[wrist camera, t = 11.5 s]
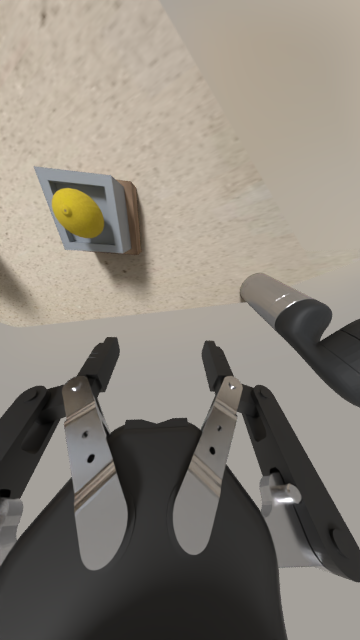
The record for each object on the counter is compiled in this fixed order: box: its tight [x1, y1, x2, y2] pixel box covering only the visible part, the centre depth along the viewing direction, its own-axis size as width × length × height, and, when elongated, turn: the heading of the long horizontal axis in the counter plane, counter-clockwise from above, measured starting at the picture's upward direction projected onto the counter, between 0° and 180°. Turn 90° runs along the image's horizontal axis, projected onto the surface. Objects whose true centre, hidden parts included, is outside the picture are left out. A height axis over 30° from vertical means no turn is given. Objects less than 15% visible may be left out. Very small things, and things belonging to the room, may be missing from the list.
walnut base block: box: [90, 180, 141, 255], centre depth 29 cm, size 12×12×5 cm
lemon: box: [52, 188, 104, 238], centre depth 19 cm, size 6×6×8 cm
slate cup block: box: [34, 166, 131, 253], centre depth 24 cm, size 10×10×6 cm
